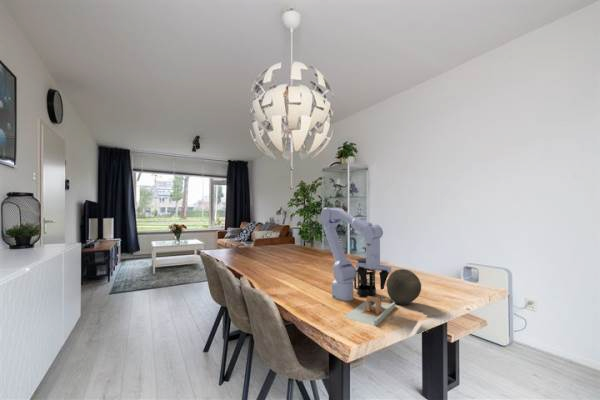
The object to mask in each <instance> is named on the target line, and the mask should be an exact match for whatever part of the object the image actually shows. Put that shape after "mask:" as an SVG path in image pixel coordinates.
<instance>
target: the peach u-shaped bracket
mask: <svg viewBox="0 0 600 400" xmlns="http://www.w3.org/2000/svg"><path fill="white" fill-rule="evenodd" d="M365 301H366V310H365V311H366V312H371V311H372V306H369V301H372V302H375V303H376V307H375V314H377V315H378V314H379V315H380V314H381V313H382V312H381V310H382V309H381V304H382V298H381V299H380V298H377V296H374V297H372V296H368V297H365Z"/></svg>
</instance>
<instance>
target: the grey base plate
mask: <svg viewBox="0 0 600 400" xmlns="http://www.w3.org/2000/svg"><path fill="white" fill-rule="evenodd" d="M371 308H376V303H375V304H374V305H372V306H371ZM395 308H396V303H395V302H394V301H392V303H390V305H389V304H388V305H387V304H383V303H381V310H383V311H382V312H380V313H379V315H378V316H377V315H373V314H372V315H371V314H368V313H365V311H366V300H364V301H363V302H361V304H359V305H358V306H357V307H355V308H353V309H352V310H351V311H349V312H348V313H347V314H345V315H344V316H343V318H344V319H348V320H351V321H356V322H359V323H363V324H367V325H372V326H374V327H375V326H376V327H377V326H378V325H379V324H380V323H381V322H382V321H383V320H384V319H385V318H386V317H387V316H388V315H389V314H390V313H391V312H392V311H393V310H394V309H395ZM363 312H364V313H363Z"/></svg>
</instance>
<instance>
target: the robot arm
mask: <svg viewBox="0 0 600 400" xmlns="http://www.w3.org/2000/svg"><path fill="white" fill-rule="evenodd" d="M319 217H320V220H321V222H322V226H323V231H324V234H325V236H326V239H327V242H328V243H327V244H328V245H329V247H330V248H329V249H330V250H331V254H332V256H333V259H334V264H333V265H332V269H333V270H332V271H333V278H334V280H333V281H332V282H331V284H332V285H331V298H333V299H336V300H339V301H345V302H349V301H350V302H351V301H352V300H354V278H355V277H356V278H357V276H358V274H357V272H356V271H358V273H359V275H360V277H361V280H362V284H363V286H366V283H367V280H366V275H367V272H368V270H367V269H372V270H376V271H380V272H379V279H380V280H379V281H380V283H379V284H380V285H379V286H380V290H384V289H385V285H386V283H387V280H388V277H389V276H390V274H391V273H392V266H390V265H389V266H388V265H383V264H381V238H382V237H383V234H384V231H383V228H382V227H381V226H380V225H379V224H374V225H373V223H372V222H371V221H367V220H365V217H361V216H360V217H354V216H353V215H352V214H350V213H348V212H346V211H345V209H343V208H341V207H323V208H322V209H321V212H320V215H319ZM341 220H342V221H344V222H345V223H347V224H350V225H351V228H352V229H353V230H355V231H356V232H357V233H359V234H361V235H362V236H363V238H364V242H365V247H366V252H365V258H366V263H359V262H358V261H357V262H356V263H355V266H354V265H353V262H352V261H351V260H350V259H347V256H346V254H345V250H344V249H343V245H342V243H341V240H340V237H339V234H338V233H337V230H336V227H337V226H338V225H339V223H340V222H341ZM356 268H357V269H356ZM367 276H368V275H367Z"/></svg>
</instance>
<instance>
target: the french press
mask: <svg viewBox="0 0 600 400" xmlns="http://www.w3.org/2000/svg"><path fill="white" fill-rule="evenodd" d="M361 249H363V250H364V252H365V253H366V246H363V247H361ZM356 261H357V263H358V262H359V263H366V257H362V258H357V259H356ZM376 271H377V270H372V269H367V275H366V280H367V283H366V286H363V284H362V280H361V277H360V275H359V273H358V271H357V270H356V272H357V276H356V277H355V278H354V281H353V290H356V295H357V296H360V297H363V298H366V297H368V296H372V297H377V287H376V273H377V272H376ZM368 276H369V277H368ZM367 277H368V278H367Z"/></svg>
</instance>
